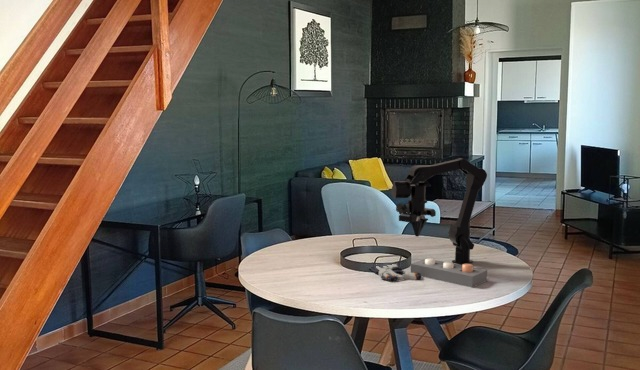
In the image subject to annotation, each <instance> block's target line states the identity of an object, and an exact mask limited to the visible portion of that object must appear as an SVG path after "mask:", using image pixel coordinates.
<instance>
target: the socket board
mask: <svg viewBox="0 0 640 370" xmlns="http://www.w3.org/2000/svg"><path fill="white" fill-rule="evenodd" d="M425 259H428V258H427V257H426V258H423V259H420V260H418V261H415V262H413V263H412V262H411V263H410V273H421V277H424V278H428V279H433V280H437V281H442V282H446V283H449V284H455V285H460V286H464V287H469V288H474V287H477V286H478V285H481V284H483V283H485V282H487V281H488V269H484V268H483V269H482V268H479V267H474V266H473V272H472V273H467V272H462V264H459V263H454V266H453V268H452V269H447V268H443V263H444V262H445V261H442V260H437V259H435V264H434V265H427V264H425Z"/></svg>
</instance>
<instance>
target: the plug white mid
mask: <svg viewBox="0 0 640 370" xmlns="http://www.w3.org/2000/svg"><path fill="white" fill-rule="evenodd" d="M443 262H444V263H443V268H447V269H452V268H453V266H454V264H455V263H454V262H452V261H451V262H450V261H443Z"/></svg>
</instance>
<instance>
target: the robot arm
mask: <svg viewBox="0 0 640 370" xmlns="http://www.w3.org/2000/svg"><path fill="white" fill-rule="evenodd" d="M457 170H460V171H461V172H462V173H463V174H464V175H466V176H465V184H466V189H465V193H464V196H463V200H462V203H461V205H460V206H461V207H460V209H459V213H458V217H457V220H456V222H455V223H454V224H452V223H450V225H449V230H448V232H447V234H448V238H449V240H450V242H451V243H452V245H453V246H454V247H455V251H454V253H455V254H454V257H455V258H454V260H451V262H452V263H454V264H458V265H462V264H472V263H473V262H474V260H472V259H471V250H473V249H474V248H475V244H474V243H473V242H472V240H471V239H470V233H471V232H470V227H469V226H470V225H469V224H470V221H471V217H472V214H473V210H474V207H475V203H476V200H477V197H478V195H479V191H480V190H481V188H482V187H483V186H484V184H485V182H486V180H487V178H488V173H487V172H486V170H485V169H484V168H480V167H477V166H476V165H474V164H472V163H471V162H469V161H468V160H466V159H465V158H461V157H458V158H456V159H452V160H448V161H444V162H439V163H433V164H431V165H428V164H427V165H425V164H424V165H422V164H421V165H418V164H417V165H413V166H411V167H410V169H409V171H408V174H407V176H406V177H405V178H404V179H403V181H397V180H396V181H395V180H394V181H393V184H392V187H391V190H390V193H391V197H392V199H395V200H397V199H408V198H409V197H410V199H409V200H408V201H407V203H406V204H403V203H402V202H401V203H397V204H396V206H395V211H396V212H397V213H398V222H404V223H410V224H411V227H412V229H413V233H414V236H415V237H419V236H420V235H421V232H422V230H423V229H424V227H425V225H426V224H427V221H428V220H429V218H427V217H426V216H430V217H432V218H434V217H436V215H437V213H436V210H435V209H434V208H427V207H426V204H428V200H427V199H426V187H431V186H432V185H431V184H430V183H429V182H428V180H429V179H431V178H432V177H434V176H437V175H441V174H445V173H450V172H452V171H457Z"/></svg>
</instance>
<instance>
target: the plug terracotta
mask: <svg viewBox="0 0 640 370" xmlns="http://www.w3.org/2000/svg"><path fill="white" fill-rule="evenodd" d="M461 265H462V272H467V273H472V272H473V267H474V265H473V264H472V263H469V264H461Z"/></svg>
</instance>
